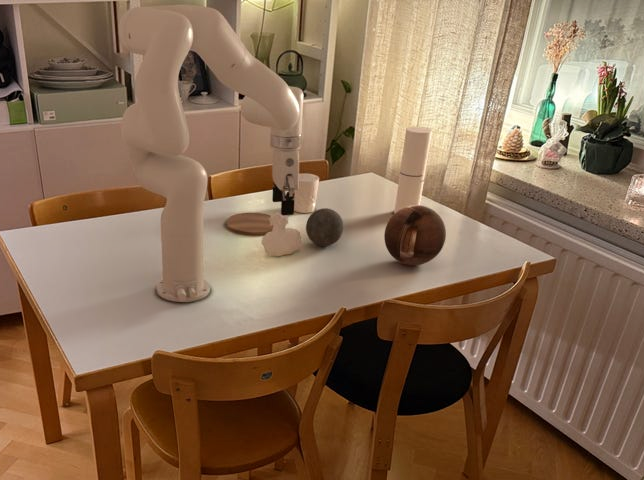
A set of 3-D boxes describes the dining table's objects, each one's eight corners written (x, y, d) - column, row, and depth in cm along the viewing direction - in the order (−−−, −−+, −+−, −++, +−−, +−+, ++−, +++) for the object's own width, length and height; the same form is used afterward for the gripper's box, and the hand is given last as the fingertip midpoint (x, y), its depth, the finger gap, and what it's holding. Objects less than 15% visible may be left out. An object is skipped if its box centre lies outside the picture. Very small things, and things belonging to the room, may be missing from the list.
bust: (297, 254, 189) (285, 215, 190) (311, 246, 183) (298, 205, 183) (259, 263, 184) (247, 223, 185) (272, 255, 178) (259, 213, 178)
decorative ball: (348, 248, 188) (352, 212, 183) (317, 254, 184) (321, 218, 179) (327, 235, 196) (331, 201, 191) (297, 241, 192) (300, 206, 187)
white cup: (286, 206, 216) (288, 174, 211) (310, 204, 218) (312, 172, 213) (296, 215, 210) (298, 182, 204) (320, 212, 212) (323, 180, 206)
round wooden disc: (286, 234, 197) (286, 230, 196) (230, 237, 194) (230, 233, 194) (274, 214, 210) (274, 211, 209) (221, 217, 208) (221, 213, 207)
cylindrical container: (389, 211, 213) (401, 128, 200) (408, 208, 216) (421, 125, 202) (403, 219, 207) (416, 133, 194) (423, 216, 210) (437, 131, 197)
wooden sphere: (403, 247, 189) (411, 193, 181) (451, 264, 180) (462, 208, 172) (369, 261, 181) (376, 205, 173) (418, 280, 171) (428, 222, 163)
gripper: (309, 150, 164) (305, 219, 173) (291, 131, 178) (288, 196, 187) (278, 151, 163) (276, 221, 172) (263, 132, 177) (261, 197, 186)
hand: (282, 208), depth 180 cm, fingers open, 9 cm apart
